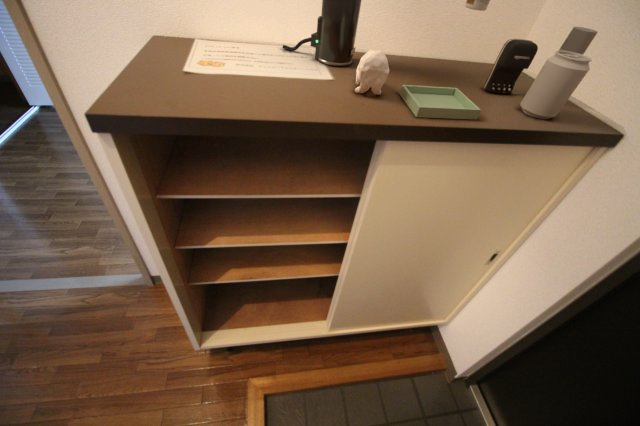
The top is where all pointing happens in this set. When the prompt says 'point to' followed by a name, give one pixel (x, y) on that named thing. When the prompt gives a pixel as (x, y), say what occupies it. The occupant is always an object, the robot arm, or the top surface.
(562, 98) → the can
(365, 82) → the white bear figurine
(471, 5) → the pill bottle
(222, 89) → the top surface
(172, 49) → the top surface
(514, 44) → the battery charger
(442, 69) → the top surface
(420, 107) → the tray
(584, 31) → the container
